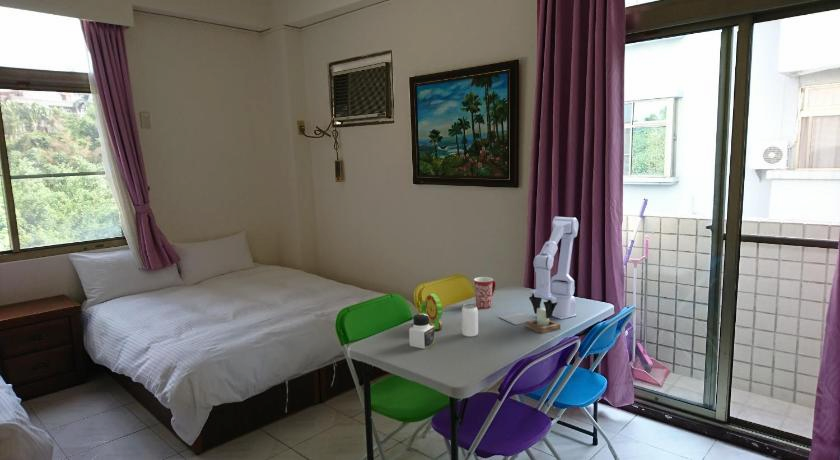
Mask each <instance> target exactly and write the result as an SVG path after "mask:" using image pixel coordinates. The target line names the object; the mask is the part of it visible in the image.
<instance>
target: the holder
mask: <svg viewBox="0 0 840 460" xmlns="http://www.w3.org/2000/svg"><path fill="white" fill-rule="evenodd" d="M525 327H526V328H529V329H531V330H532V331H535V332H537V333H539V334H545V333H549V332H553V331H554V332H555V331H558V330H561V324H560V323H558V322H555V321H553V320H551V319H549V325H548V326H544V327H541V326H538V325H537V318H536V320H532V321H527V322H526V323H525Z"/></svg>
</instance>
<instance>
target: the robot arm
mask: <svg viewBox="0 0 840 460" xmlns="http://www.w3.org/2000/svg"><path fill="white" fill-rule="evenodd" d="M551 225H552V232H551V234H550V236H549V239H548V240H547V241H545V243H544V244H543V246H542V249H541V250H540V252H539V254H537V255H536V256H535V257H534V258H533V263H532V264H533V268H534V273H535V289H532V290H530V292H529V294H530V296H529V297H528V298H529V301H530V302H531V305H532V309H533V312H534V314H535V315H537V308H541V303H542V300H545V301H543V306H544V308H545V309H546V318H547V319H548V318H549V319H552V317H554V318H557V319H558V320H563V319H568V318H573V317H577V315H578V314H577V313H576V310H577V308H576V307H577V303H576V302H577V301H576V298H575V296H574V294H575V289H576V287H575V280H574V278H573V277H571V275H570V269H571V260H572V253H573V252H572V251H573V244H574V239H575V238H576V237H577V236H578V231H579V221H578V219H577V218H576V217H569V216H568V217H566V216H554V218H553V219H552V223H551ZM560 240H561V243H560V252H559V257H558V258H559V259H558V267H557V273H556V274H554V275H553V276H552V277H551V269H552V268H553V266H554V260H555V259H554V257H555V256H556V253H557V251H558V249H559V248H558V244H559V242H560Z"/></svg>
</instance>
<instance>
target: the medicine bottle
mask: <svg viewBox="0 0 840 460" xmlns="http://www.w3.org/2000/svg"><path fill="white" fill-rule="evenodd" d="M426 314H427V313H426ZM426 314H421V313H418V314H415V315H413V317H412V318H413V319H412V320H413V326H411V327H410V328H409V329H408V333H409V334H408V337H409V347H413V348H417V349H418V348H419V349H423V350H426V349H428V348H429V347H430V346H432V345H434V344H435V330H434V326H430V325H429V316H428V315H426Z"/></svg>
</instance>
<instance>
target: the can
mask: <svg viewBox="0 0 840 460" xmlns="http://www.w3.org/2000/svg"><path fill="white" fill-rule="evenodd" d="M478 309H479V308H477V306H476V304H473V303H465V304H463V305H462V308H461V330H462V331H461V332H462V335H463V336H464V337H468V338H471V337H472V338H473V337H477V336H478V334H479V310H478Z"/></svg>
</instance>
